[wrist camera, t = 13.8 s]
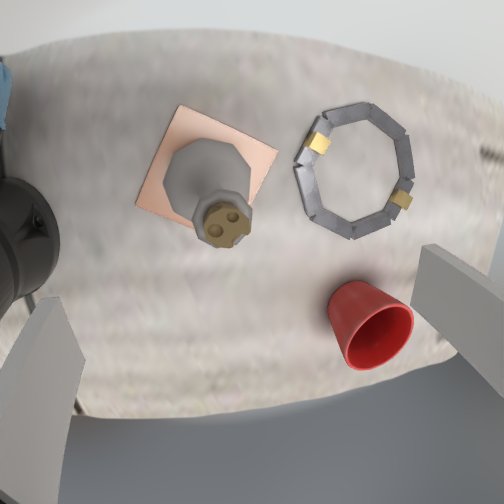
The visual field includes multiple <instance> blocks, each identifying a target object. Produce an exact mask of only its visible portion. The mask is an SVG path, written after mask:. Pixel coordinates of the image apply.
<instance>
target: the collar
mask: <svg viewBox="0 0 504 504" xmlns="http://www.w3.org/2000/svg"><path fill="white" fill-rule="evenodd" d="M322 113H323V117H324V118H323V117H322V116H317V118H316V120H315V122H314V124H313V126H312V128H311V130H310V132H309V134H308V135H307V137H306V139H305V141H304V143H303V145H302V147H301V149H300V151H299V153H298V155H297V156H296V158H295V160H294V161H295V162H297V163H299V164H301V165H299V166H296V167H293V168H294V171H295V175H296V178H297V182H298V186H299V189H300V193H301V197H302V200H303V204H304V208H305V212H306V215H307V216H309V217H310V220H312V221H313V222H315V223H317V224H319V225H321V226H323V227H325V228H327V229H329V230H331V231H333V232H335V233H337V234H339V235H341V236H343V237H345V238H346V239H348V240H350V238H352V239H354V240H355V239H358V238H360V237H363V236H365V235H367V234H370V233H372V232H375V231H377V230H379V229H382V228H384V227H386V226H389V225H391V221H390V219H392V220H394V221H395V219H396V218H397V216H398V214H399V212H400V210H401V208H402V209H404V210H406V211H407V209H408V207H409V205H410V203H411V201H412V199H413V198H412V197H411V196H410V195H409V193H410V191H411V189H412V187H413V185H414V183H413V182H412V181H411V179H413V178H415V173H414V165H413V158H412V152H411V146H410V140H409V135H405V132H406V130H405V129H404V128H403V127H402V126H401V125H399V124H398V123H397V122H396V121H395V120H393V119H392V118H391V117H390V116H389V115H387V114H386V113H385V112H384V111H382V110H381V109H380V108H379V107H377V106H376V105H375V104H369V102H368V103H360V104H356V105H351V106H347V107H343V108H338V109H334V110H330V111H326V112H322ZM365 119H368V120H369V121H370V122H372V123H373V124H374V125H376V126H377V127H378V128H379V129H381V130H382V131H383V132H385V133H386V134H387V135H388V136H390V137H391V138H392V139H393V140H394V143H395V148H396V154H397V160H398V166H399V172H400V179H399V181H398V183H397V185H396V187H395V189H394V191H393V192H392V194H391V196H390V198H389V200H388V202H387V204H386V206H385V208H384V210H383V211H380V212H378V213H375V214H373V215H370V216H368V217H365V218H363V219H360V220H358V221H355V222H353V223H350V222H348V221H346V220H344V219H342V218H341V217H339V216H337V215H335V214H333V213H331V212H329V211H328V210H326V209H324V208H323V206H322V202H321V198H320V194H319V190H318V185H317V181H316V178H315V174H314V170H313V165H314V164H315V162H316V160H317V158H318V156H319V154H320V155H323V156H324V154H325V152H326V150H327V148H328V146H329V144H330V142H331V140H330V139H328V137H329V135H330V133H331V131H332V129H333V128H334V127H338V126H341V125H345V124H349V123H353V122H357V121H361V120H365Z"/></svg>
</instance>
